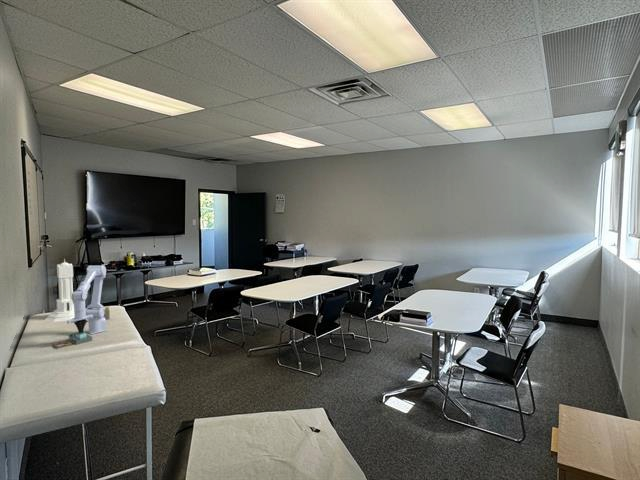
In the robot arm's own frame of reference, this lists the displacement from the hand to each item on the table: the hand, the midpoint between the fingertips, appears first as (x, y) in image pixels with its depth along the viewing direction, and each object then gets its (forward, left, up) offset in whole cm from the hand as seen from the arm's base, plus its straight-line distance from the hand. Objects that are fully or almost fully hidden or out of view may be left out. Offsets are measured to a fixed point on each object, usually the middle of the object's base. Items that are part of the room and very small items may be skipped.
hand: (80, 332), depth 221 cm
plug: (0, 0, -6) cm, 6 cm away
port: (0, -2, -5) cm, 6 cm away
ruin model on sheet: (-26, -38, -6) cm, 46 cm away
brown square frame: (+10, 0, -5) cm, 11 cm away
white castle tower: (-15, -69, -6) cm, 71 cm away
